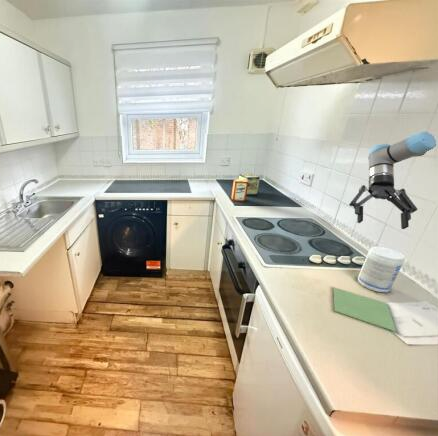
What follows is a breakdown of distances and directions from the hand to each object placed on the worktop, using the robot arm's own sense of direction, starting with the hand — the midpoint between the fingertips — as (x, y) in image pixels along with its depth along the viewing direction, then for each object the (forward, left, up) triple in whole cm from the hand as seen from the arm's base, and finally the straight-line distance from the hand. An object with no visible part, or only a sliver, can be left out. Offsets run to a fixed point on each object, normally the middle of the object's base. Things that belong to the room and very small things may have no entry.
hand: (381, 224), depth 92 cm
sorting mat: (+3, +28, -21) cm, 36 cm away
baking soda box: (+70, -67, -22) cm, 99 cm away
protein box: (+69, -90, -22) cm, 115 cm away
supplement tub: (-2, +10, -22) cm, 24 cm away
